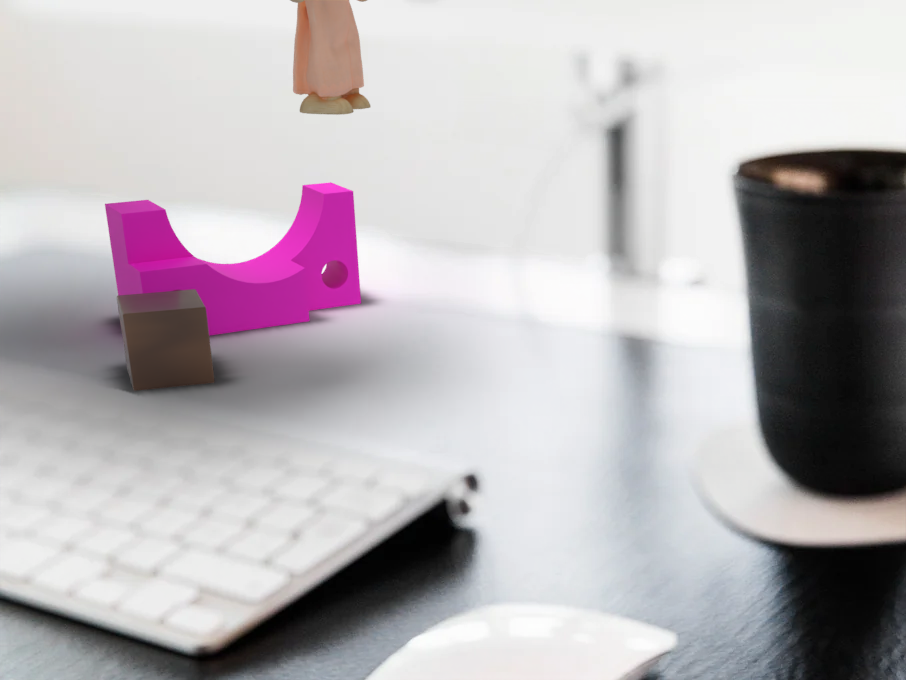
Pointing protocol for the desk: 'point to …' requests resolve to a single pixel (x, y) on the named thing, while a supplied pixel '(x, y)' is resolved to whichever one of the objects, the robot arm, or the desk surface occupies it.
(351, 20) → the grandmother figurine
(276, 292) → the toy block
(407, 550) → the desk surface
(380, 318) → the desk surface
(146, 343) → the walnut cube
